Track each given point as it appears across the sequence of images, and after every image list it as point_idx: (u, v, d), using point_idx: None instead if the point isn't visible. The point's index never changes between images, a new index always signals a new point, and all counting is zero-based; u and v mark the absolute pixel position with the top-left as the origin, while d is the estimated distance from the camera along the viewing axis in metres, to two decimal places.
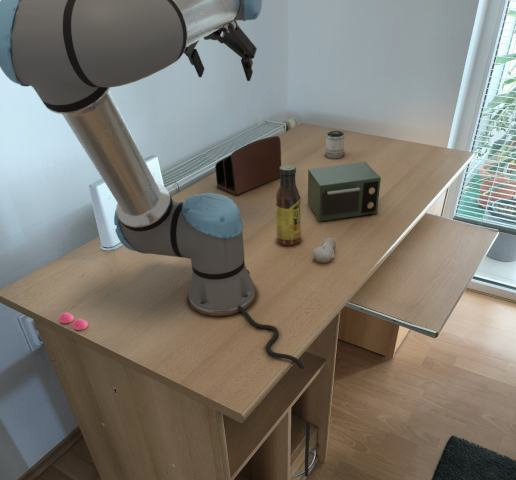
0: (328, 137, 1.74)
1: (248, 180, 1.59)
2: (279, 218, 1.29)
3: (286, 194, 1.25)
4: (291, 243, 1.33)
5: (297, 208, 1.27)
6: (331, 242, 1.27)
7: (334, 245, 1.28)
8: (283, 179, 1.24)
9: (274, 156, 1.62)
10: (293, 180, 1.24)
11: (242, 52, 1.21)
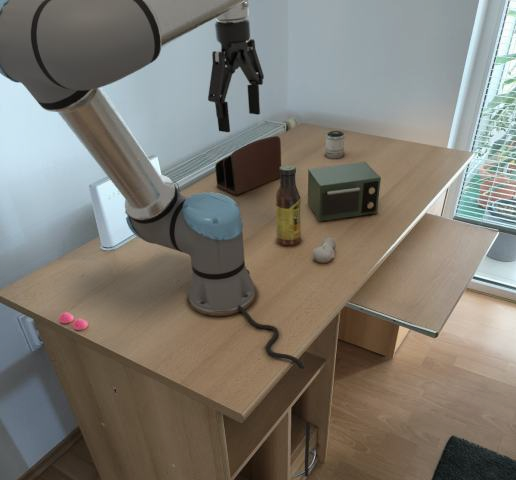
0: (328, 137, 1.74)
1: (248, 180, 1.59)
2: (279, 218, 1.29)
3: (286, 194, 1.25)
4: (291, 243, 1.33)
5: (297, 208, 1.27)
6: (331, 242, 1.27)
7: (334, 245, 1.28)
8: (283, 179, 1.24)
9: (274, 156, 1.62)
10: (293, 180, 1.24)
11: None
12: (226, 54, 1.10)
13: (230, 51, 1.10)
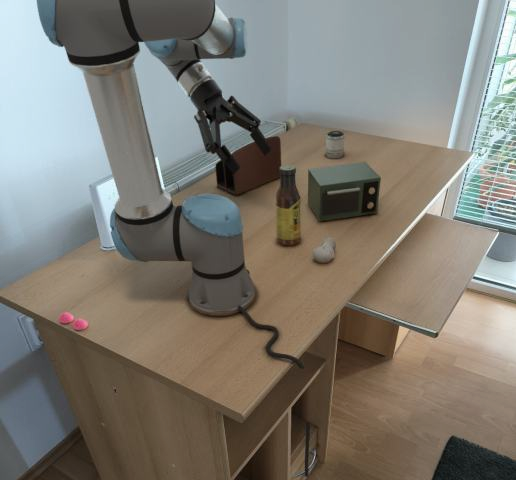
0: (328, 137, 1.74)
1: (248, 180, 1.59)
2: (279, 218, 1.29)
3: (286, 194, 1.25)
4: (291, 243, 1.33)
5: (297, 208, 1.27)
6: (331, 242, 1.27)
7: (334, 245, 1.28)
8: (283, 179, 1.24)
9: (274, 156, 1.62)
10: (293, 180, 1.24)
11: None
12: (206, 111, 1.22)
13: (208, 107, 1.22)
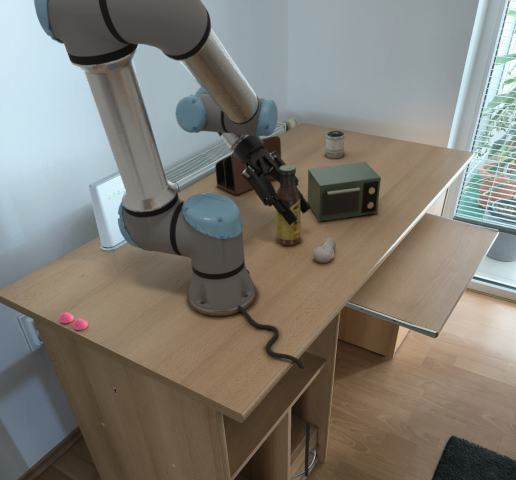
0: (328, 137, 1.74)
1: None
2: (279, 218, 1.29)
3: (286, 194, 1.25)
4: (291, 243, 1.33)
5: (297, 208, 1.27)
6: (331, 242, 1.27)
7: (334, 245, 1.28)
8: (283, 179, 1.24)
9: None
10: (293, 180, 1.24)
11: None
12: (251, 166, 1.24)
13: (252, 161, 1.24)
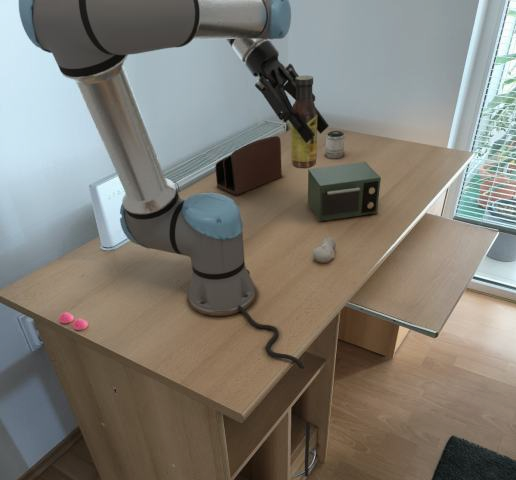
0: (328, 137, 1.74)
1: (248, 180, 1.59)
2: (294, 136, 1.20)
3: (303, 108, 1.16)
4: (307, 165, 1.24)
5: (314, 124, 1.19)
6: (331, 242, 1.27)
7: (334, 245, 1.28)
8: (299, 90, 1.15)
9: (274, 156, 1.62)
10: (310, 92, 1.15)
11: (282, 111, 1.17)
12: (265, 76, 1.15)
13: (266, 70, 1.15)
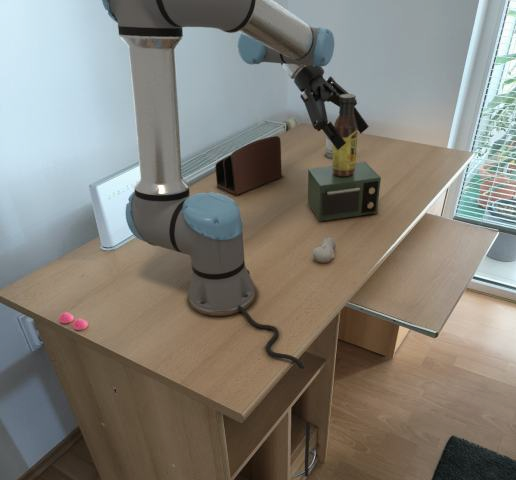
0: None
1: (248, 180, 1.59)
2: None
3: (345, 122, 1.30)
4: (347, 174, 1.38)
5: (355, 137, 1.32)
6: (331, 242, 1.27)
7: (334, 245, 1.28)
8: (343, 107, 1.28)
9: (274, 156, 1.62)
10: (352, 108, 1.29)
11: (318, 121, 1.28)
12: (311, 90, 1.28)
13: (313, 87, 1.28)
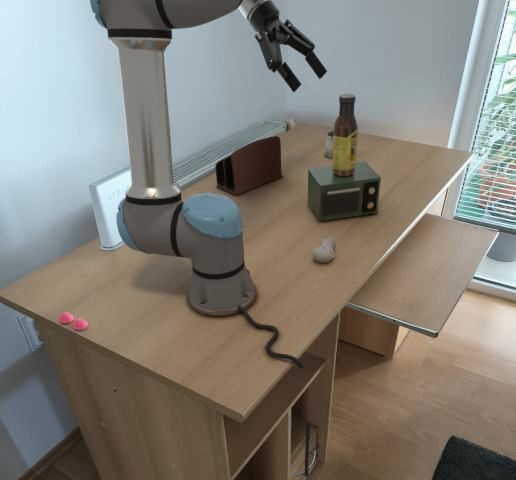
0: (328, 137, 1.74)
1: (248, 180, 1.59)
2: (337, 147, 1.34)
3: (345, 122, 1.30)
4: (347, 174, 1.38)
5: (355, 137, 1.32)
6: (331, 242, 1.27)
7: (334, 245, 1.28)
8: (343, 107, 1.28)
9: (274, 156, 1.62)
10: (352, 108, 1.29)
11: None
12: (266, 31, 1.25)
13: (268, 27, 1.26)
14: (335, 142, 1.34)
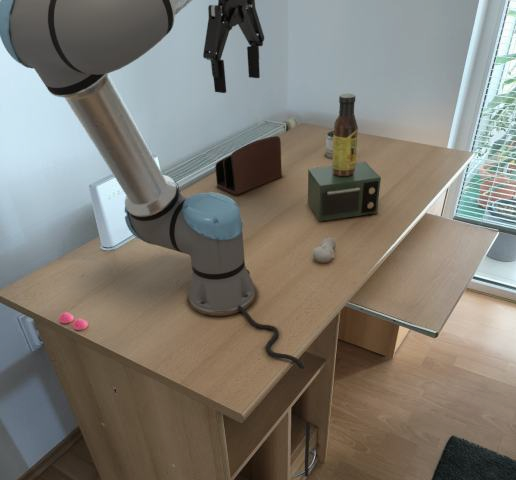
0: (328, 137, 1.74)
1: (248, 180, 1.59)
2: (337, 147, 1.34)
3: (345, 122, 1.30)
4: (347, 174, 1.38)
5: (355, 137, 1.32)
6: (331, 242, 1.28)
7: (334, 245, 1.28)
8: (343, 107, 1.28)
9: (274, 156, 1.62)
10: (352, 108, 1.29)
11: None
12: (223, 9, 1.06)
13: (227, 6, 1.06)
14: (335, 142, 1.34)
